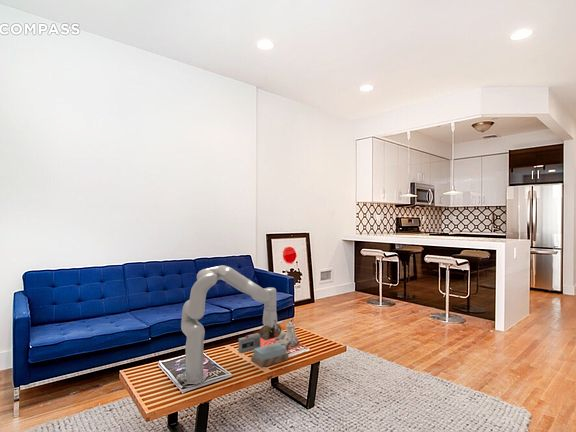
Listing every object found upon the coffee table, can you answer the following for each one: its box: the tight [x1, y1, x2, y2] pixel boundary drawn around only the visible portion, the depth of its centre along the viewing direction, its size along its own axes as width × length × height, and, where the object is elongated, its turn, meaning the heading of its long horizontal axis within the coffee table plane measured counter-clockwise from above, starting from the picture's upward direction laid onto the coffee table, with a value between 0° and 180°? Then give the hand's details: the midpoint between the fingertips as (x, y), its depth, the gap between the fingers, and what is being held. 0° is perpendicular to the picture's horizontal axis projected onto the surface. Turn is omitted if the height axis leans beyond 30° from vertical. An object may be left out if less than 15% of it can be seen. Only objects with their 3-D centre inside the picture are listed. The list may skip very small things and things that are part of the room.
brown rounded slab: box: [259, 323, 282, 341], centre depth 214 cm, size 15×3×8 cm, turn 127°
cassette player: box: [237, 332, 262, 354], centre depth 230 cm, size 16×3×10 cm, turn 128°
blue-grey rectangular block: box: [253, 342, 288, 361], centre depth 214 cm, size 18×10×4 cm, turn 125°
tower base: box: [250, 352, 290, 368], centre depth 214 cm, size 20×12×4 cm, turn 126°
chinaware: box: [275, 320, 299, 348], centre depth 241 cm, size 28×17×17 cm, turn 10°
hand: (270, 336), depth 214 cm, fingers closed on brown rounded slab, 2 cm apart
